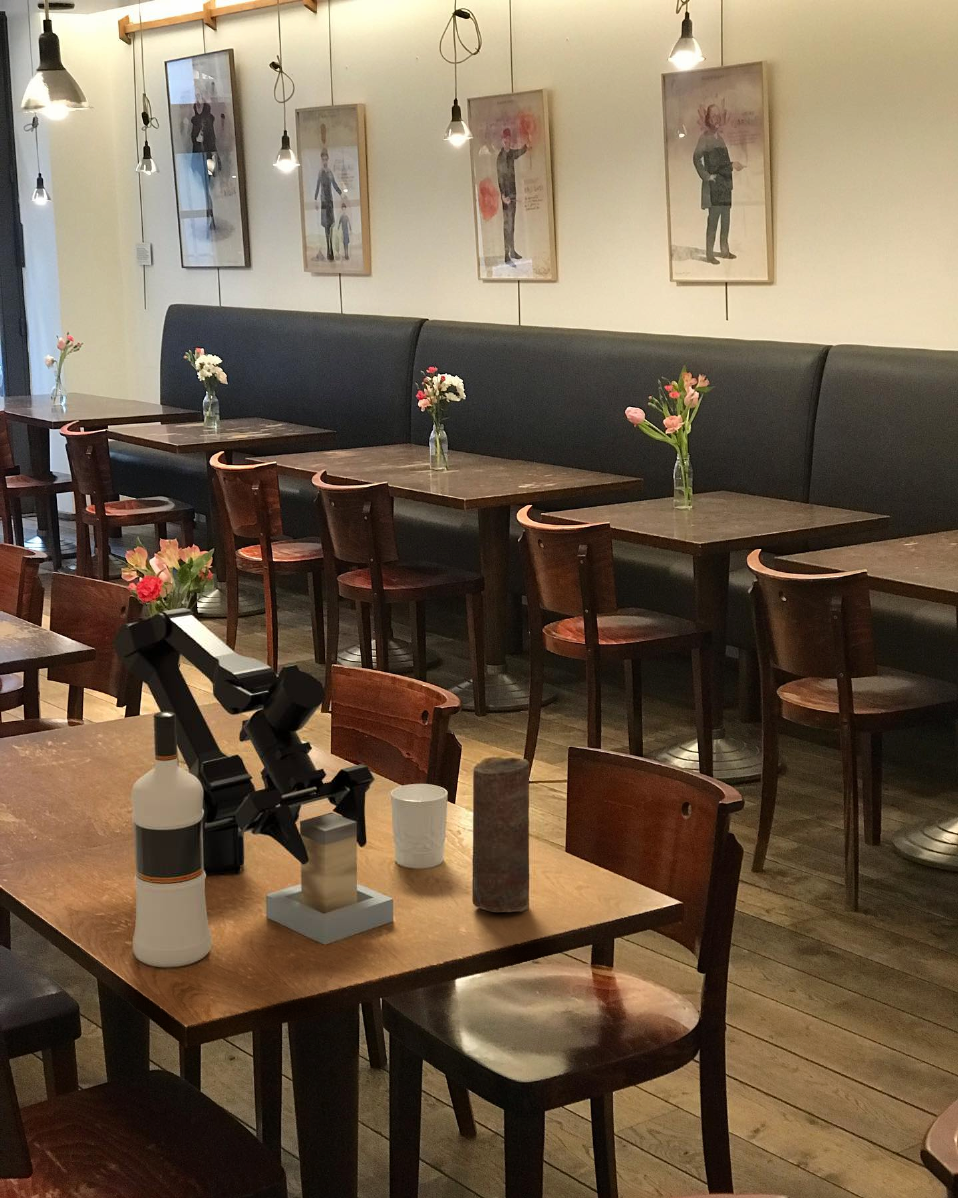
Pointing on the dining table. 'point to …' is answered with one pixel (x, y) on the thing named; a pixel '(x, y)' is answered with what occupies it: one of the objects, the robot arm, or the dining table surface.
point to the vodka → (169, 858)
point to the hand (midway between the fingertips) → (335, 854)
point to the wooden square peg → (329, 862)
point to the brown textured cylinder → (501, 834)
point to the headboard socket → (329, 914)
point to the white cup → (419, 824)
